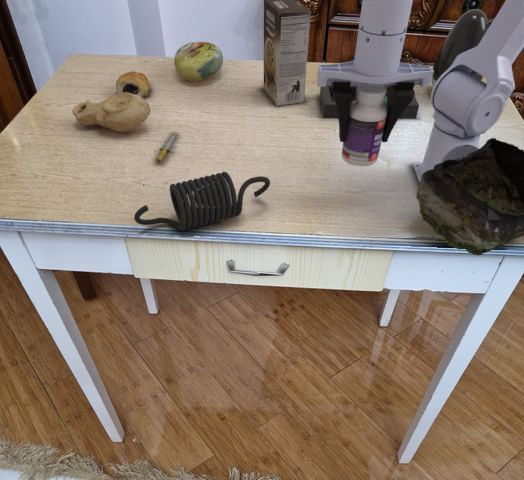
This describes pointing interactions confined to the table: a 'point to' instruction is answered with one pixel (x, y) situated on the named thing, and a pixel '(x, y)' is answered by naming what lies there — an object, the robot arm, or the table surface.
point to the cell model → (198, 60)
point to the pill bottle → (365, 125)
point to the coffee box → (285, 50)
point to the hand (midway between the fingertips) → (363, 138)
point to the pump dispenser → (461, 40)
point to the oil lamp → (114, 112)
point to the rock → (476, 198)
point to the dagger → (165, 149)
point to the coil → (204, 201)
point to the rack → (331, 109)
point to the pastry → (133, 84)
